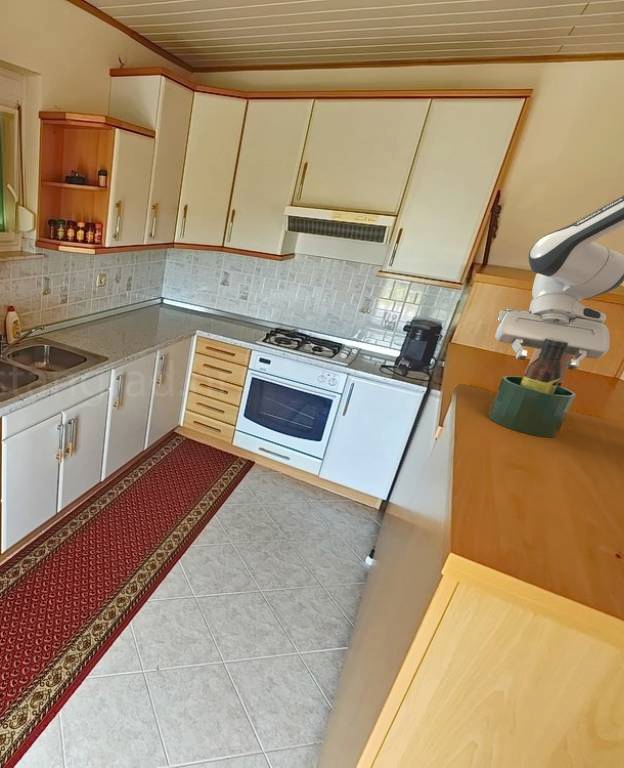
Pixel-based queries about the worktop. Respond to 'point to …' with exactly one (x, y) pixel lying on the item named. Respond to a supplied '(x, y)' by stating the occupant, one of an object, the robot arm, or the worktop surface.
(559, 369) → the sauce bottle
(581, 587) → the worktop surface
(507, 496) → the worktop surface
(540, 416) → the crock
